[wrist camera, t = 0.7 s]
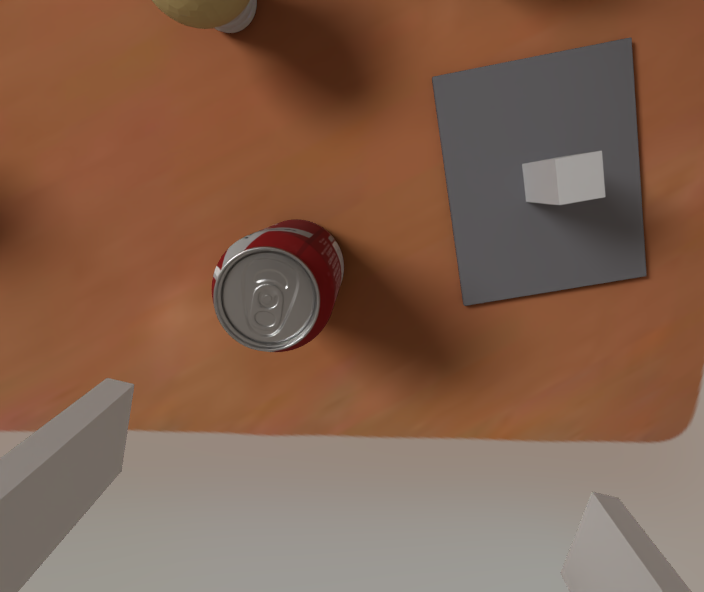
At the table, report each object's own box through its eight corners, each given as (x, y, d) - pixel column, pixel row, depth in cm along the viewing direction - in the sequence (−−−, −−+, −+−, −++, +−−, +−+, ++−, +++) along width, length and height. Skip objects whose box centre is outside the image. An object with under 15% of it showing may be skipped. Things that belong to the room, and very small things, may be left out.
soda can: (352, 228, 37) (342, 247, 25) (336, 316, 39) (320, 373, 27) (260, 211, 37) (208, 222, 25) (248, 300, 39) (193, 350, 27)
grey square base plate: (431, 78, 35) (446, 51, 28) (627, 39, 34) (692, 2, 27) (463, 304, 38) (483, 330, 31) (642, 274, 37) (704, 294, 30)
